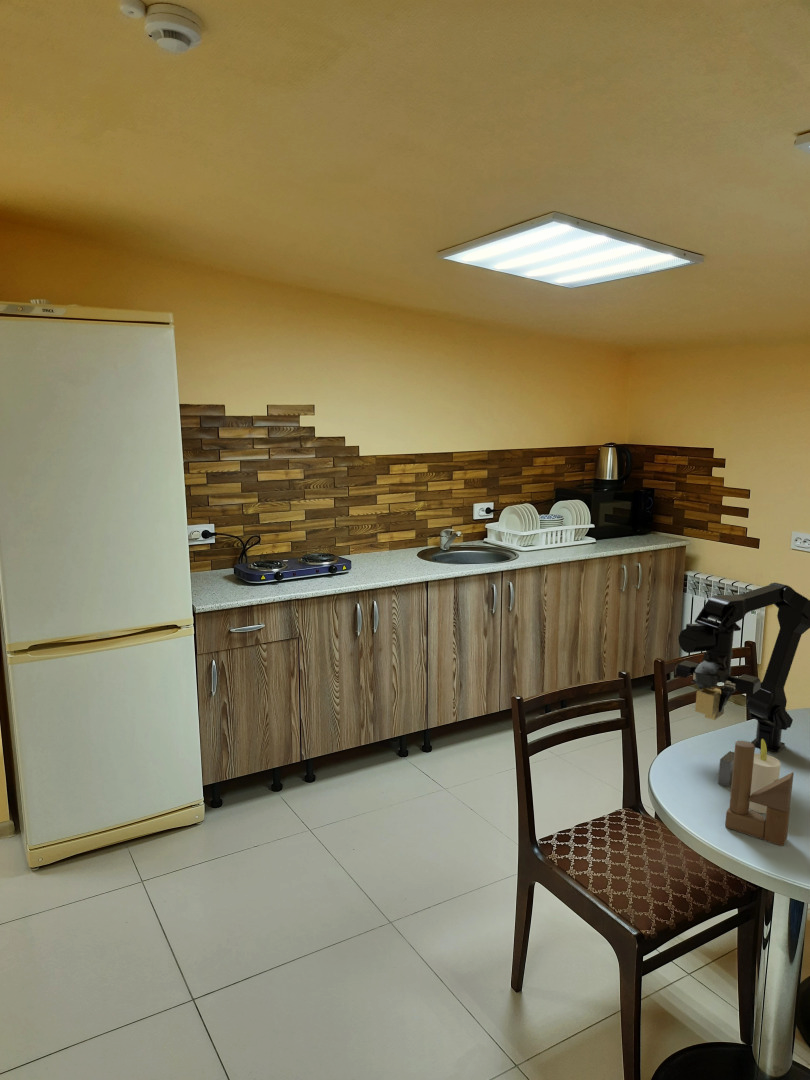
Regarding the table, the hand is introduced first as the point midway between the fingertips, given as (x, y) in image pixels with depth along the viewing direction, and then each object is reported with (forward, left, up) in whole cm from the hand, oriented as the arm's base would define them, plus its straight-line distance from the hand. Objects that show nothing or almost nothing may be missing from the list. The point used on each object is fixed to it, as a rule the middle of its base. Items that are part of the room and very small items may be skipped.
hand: (713, 710), depth 176 cm
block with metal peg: (+8, +8, -12) cm, 16 cm away
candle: (+16, +17, -12) cm, 27 cm away
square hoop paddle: (+1, 0, -2) cm, 2 cm away
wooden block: (+28, +20, -12) cm, 37 cm away
